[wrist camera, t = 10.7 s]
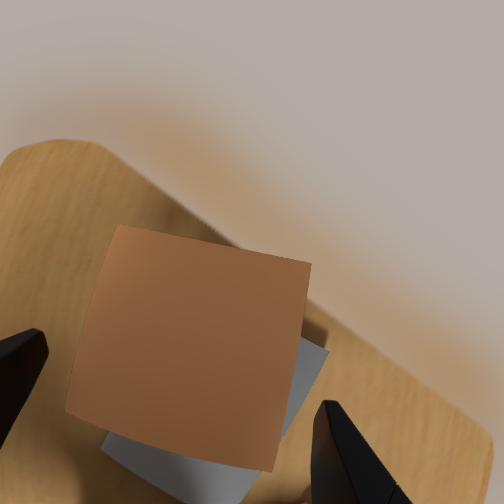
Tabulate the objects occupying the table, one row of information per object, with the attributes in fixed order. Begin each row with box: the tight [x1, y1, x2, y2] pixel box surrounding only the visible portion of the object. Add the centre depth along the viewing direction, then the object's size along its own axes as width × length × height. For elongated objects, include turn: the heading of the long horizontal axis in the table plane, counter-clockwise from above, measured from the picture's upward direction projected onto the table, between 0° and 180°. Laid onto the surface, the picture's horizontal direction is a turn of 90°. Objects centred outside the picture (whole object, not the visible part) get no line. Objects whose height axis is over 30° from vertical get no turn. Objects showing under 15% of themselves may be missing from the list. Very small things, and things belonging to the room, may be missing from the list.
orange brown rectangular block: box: [64, 224, 311, 472], centre depth 13 cm, size 6×6×10 cm
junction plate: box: [100, 336, 329, 504], centre depth 16 cm, size 13×9×4 cm
